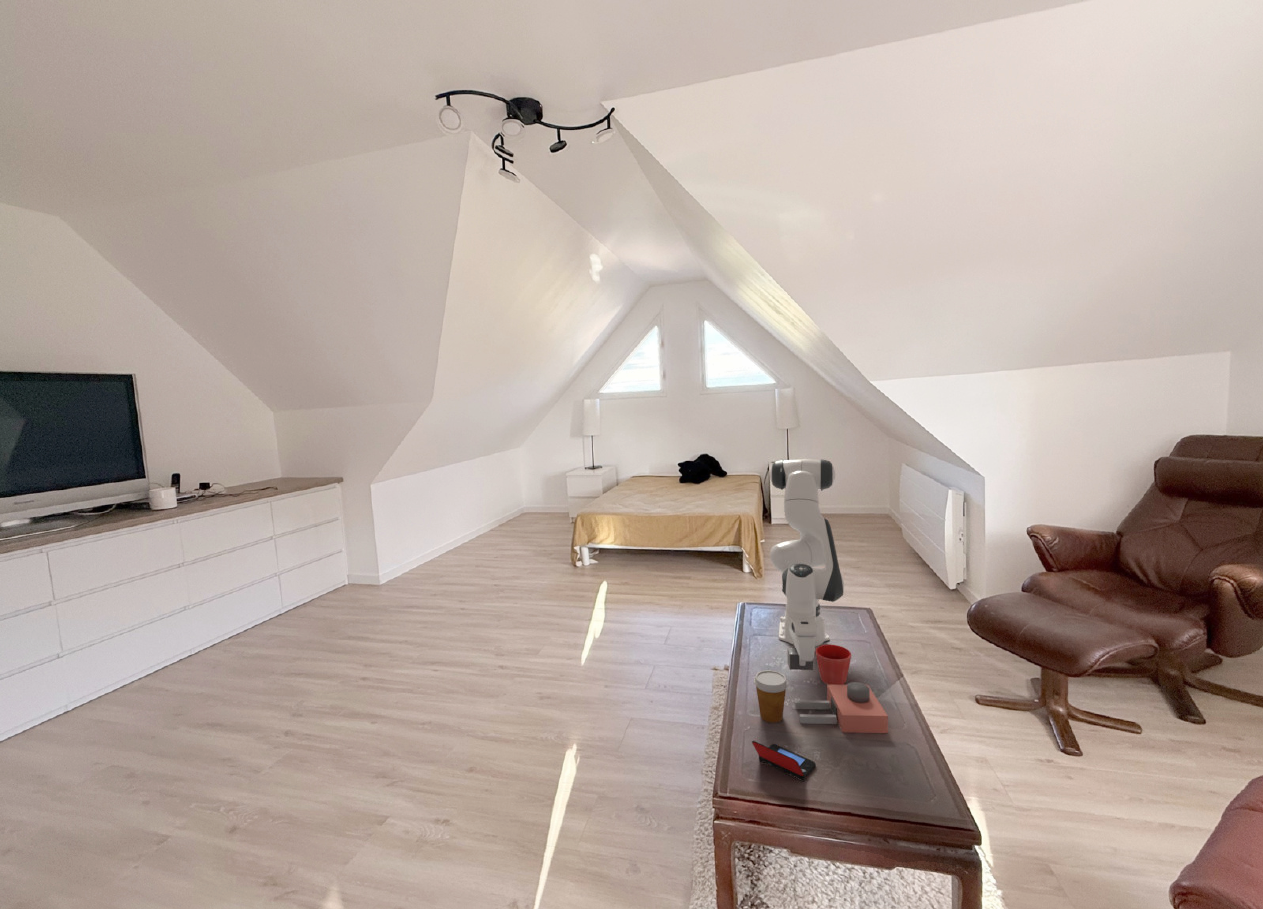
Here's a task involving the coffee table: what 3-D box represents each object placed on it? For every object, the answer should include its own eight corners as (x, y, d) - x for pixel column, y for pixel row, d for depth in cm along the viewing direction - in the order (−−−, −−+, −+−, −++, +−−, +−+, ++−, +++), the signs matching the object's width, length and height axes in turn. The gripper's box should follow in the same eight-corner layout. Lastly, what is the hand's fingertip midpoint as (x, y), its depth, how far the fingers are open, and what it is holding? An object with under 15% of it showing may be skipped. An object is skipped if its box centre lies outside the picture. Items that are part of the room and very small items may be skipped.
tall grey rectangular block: (787, 662, 169) (787, 647, 168) (810, 663, 168) (810, 648, 167) (789, 669, 165) (789, 654, 164) (813, 670, 164) (813, 654, 163)
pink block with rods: (792, 699, 165) (791, 674, 164) (868, 700, 162) (868, 675, 162) (803, 731, 149) (803, 704, 148) (887, 733, 146) (887, 705, 146)
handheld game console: (817, 766, 135) (817, 739, 134) (797, 790, 127) (796, 761, 126) (772, 746, 144) (772, 720, 143) (751, 766, 136) (750, 739, 135)
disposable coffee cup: (789, 709, 159) (788, 671, 158) (787, 728, 150) (786, 688, 149) (756, 705, 162) (755, 667, 161) (753, 723, 154) (752, 683, 152)
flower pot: (854, 689, 169) (854, 660, 168) (818, 687, 171) (817, 658, 170) (847, 672, 179) (847, 644, 178) (813, 670, 181) (813, 643, 180)
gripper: (784, 603, 175) (784, 643, 177) (796, 632, 155) (796, 677, 156) (804, 603, 174) (803, 643, 176) (818, 633, 154) (818, 677, 156)
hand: (800, 659), depth 166 cm, fingers closed on tall grey rectangular block, 4 cm apart
